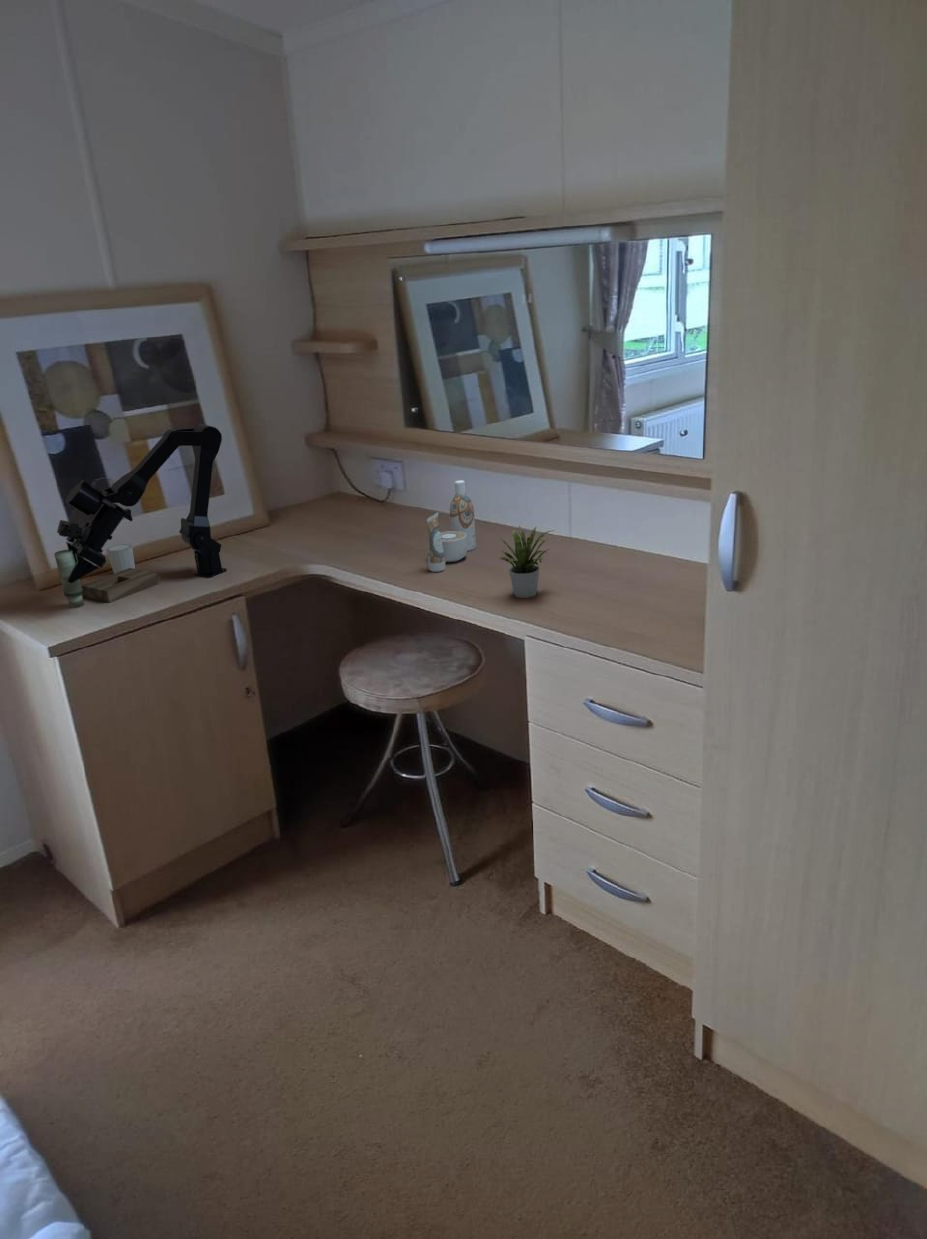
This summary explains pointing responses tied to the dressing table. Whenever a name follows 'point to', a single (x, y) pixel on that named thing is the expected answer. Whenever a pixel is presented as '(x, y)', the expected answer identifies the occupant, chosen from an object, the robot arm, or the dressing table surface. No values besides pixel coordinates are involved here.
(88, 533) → the robot arm
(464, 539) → the cosmetic set
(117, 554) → the shot glass
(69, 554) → the peg
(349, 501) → the dressing table surface
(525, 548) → the house plant
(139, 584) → the board
